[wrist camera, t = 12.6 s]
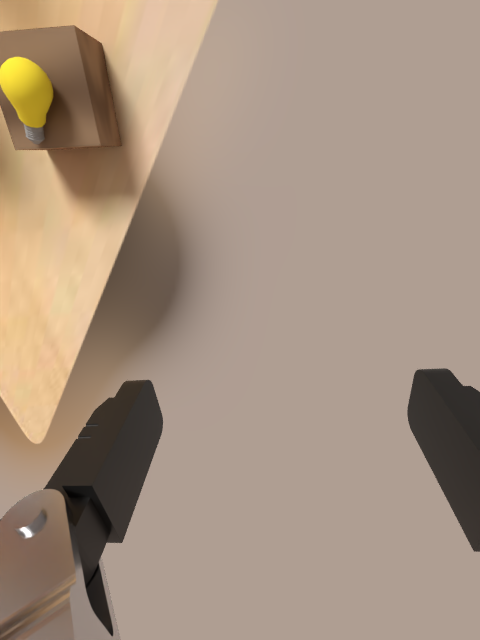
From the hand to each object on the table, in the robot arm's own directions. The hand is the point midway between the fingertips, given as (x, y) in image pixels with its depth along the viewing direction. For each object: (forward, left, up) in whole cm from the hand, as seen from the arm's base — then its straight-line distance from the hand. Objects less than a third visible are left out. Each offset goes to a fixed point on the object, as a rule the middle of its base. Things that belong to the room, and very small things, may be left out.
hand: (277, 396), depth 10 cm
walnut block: (-13, -18, -28) cm, 36 cm away
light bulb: (-12, -18, -24) cm, 32 cm away
